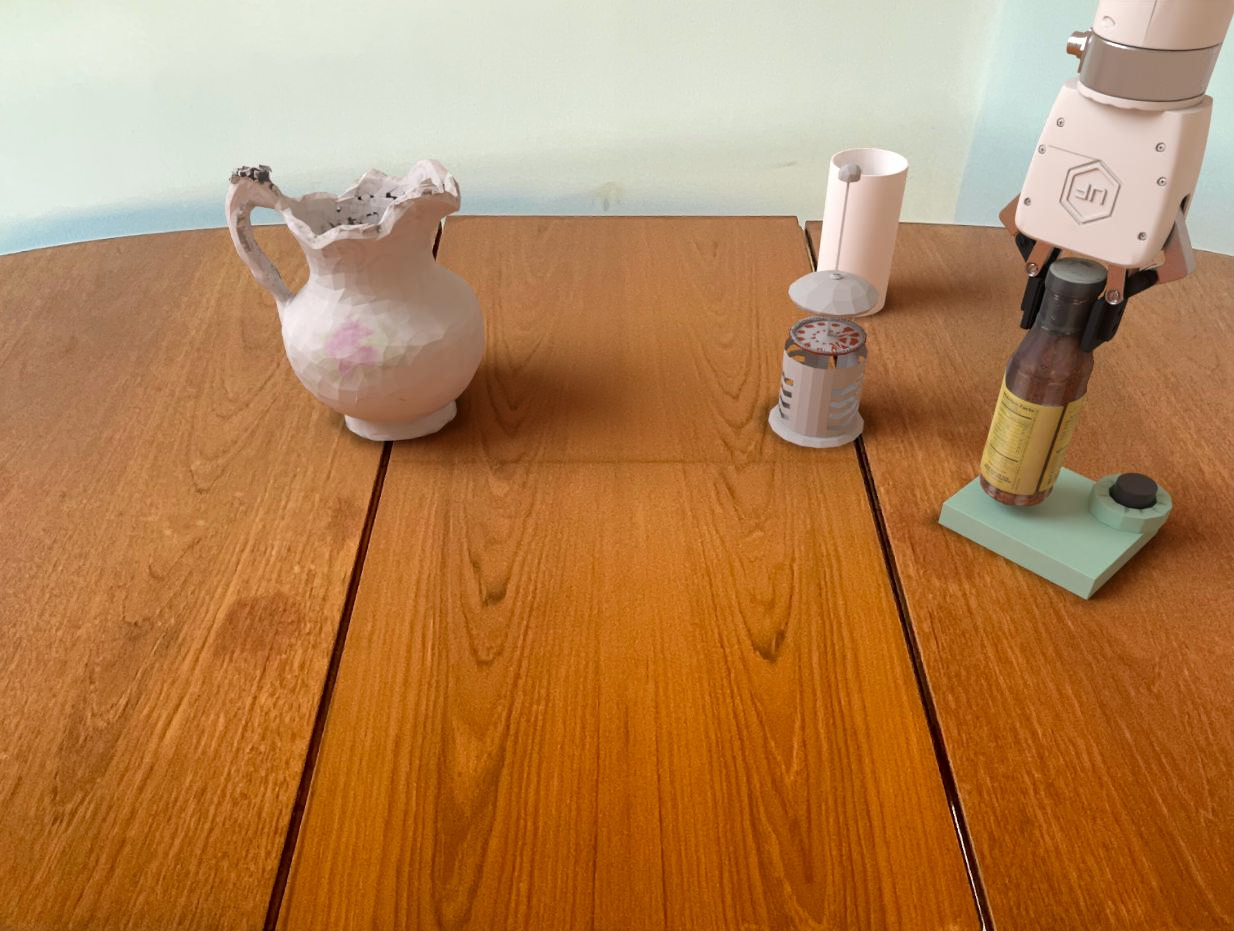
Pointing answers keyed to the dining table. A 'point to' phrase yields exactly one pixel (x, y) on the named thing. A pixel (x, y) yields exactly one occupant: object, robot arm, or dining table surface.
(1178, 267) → the robot arm
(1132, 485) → the tare button
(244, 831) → the dining table surface
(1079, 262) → the sauce bottle
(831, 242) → the white cylinder
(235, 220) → the ceramic pitcher
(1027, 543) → the scale
